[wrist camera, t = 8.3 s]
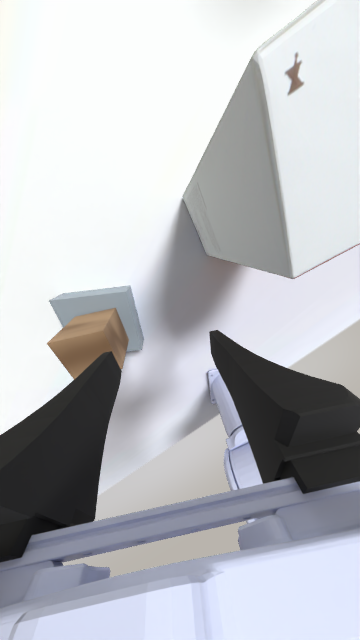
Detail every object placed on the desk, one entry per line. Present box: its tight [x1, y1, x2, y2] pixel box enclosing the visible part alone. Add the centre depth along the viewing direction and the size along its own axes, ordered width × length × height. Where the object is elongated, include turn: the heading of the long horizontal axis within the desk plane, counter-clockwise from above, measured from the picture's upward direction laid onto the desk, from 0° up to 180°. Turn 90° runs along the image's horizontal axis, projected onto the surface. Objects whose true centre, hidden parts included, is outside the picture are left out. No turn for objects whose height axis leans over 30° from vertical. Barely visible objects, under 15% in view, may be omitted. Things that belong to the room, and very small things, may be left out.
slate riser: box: [49, 286, 144, 352], centre depth 19 cm, size 8×8×3 cm
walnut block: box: [47, 308, 129, 379], centre depth 15 cm, size 4×4×5 cm
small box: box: [183, 0, 360, 279], centre depth 10 cm, size 8×6×13 cm
